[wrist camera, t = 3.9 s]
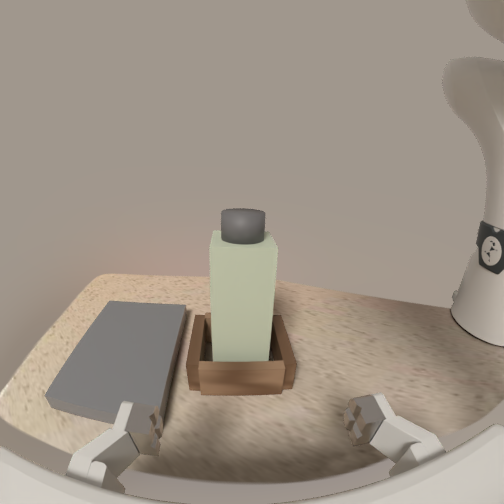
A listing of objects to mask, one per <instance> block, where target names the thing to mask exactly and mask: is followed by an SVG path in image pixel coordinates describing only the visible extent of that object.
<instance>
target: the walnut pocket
mask: <svg viewBox="0 0 504 504" xmlns="http://www.w3.org/2000/svg"><path fill="white" fill-rule="evenodd" d="M206 342H212V331H211V313H206V314H205V315H195V319H194V324H193V329H192V335H191V340H190V345H189V351H188V356H187V362H186V368H187V376H188V383H189V389H190V390H197V391H201V395H270V394H281V393H282V390H284V389H292V386H293V381H294V375H295V370H296V365H297V363H296V360H295V357H294V354H293V351H292V348H291V345H290V341H289V338H288V335H287V332H286V329H285V326H284V323H283V320H282V317H281V315H273V318H272V329H271V339H270V345H271V350H272V354H273V359H274V361H251V362H217V361H204V358H205V349H206Z"/></svg>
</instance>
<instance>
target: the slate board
mask: <svg viewBox="0 0 504 504" xmlns="http://www.w3.org/2000/svg"><path fill="white" fill-rule="evenodd" d="M186 317H187V312H186V305H177V304H154V303H136V302H121V301H109V302H108V303H107V305H106V306H105V307H104V309H103V310H102V311H101V313H100V314H99V315H98V317H97V318H96V319H95V321H94V322H93V323H92V325H91V326H90V328H89V329H88V330H87V332H86V333H85V335H84V336H83V337H82V339H81V340H80V342H79V343H78V345H77V346H76V347H75V349H74V350H73V352H72V353H71V355H70V356H69V358H68V359H67V361H66V362H65V364H64V365H63V367H62V368H61V370H60V371H59V373H58V375H57V376H56V378H55V379H54V381H53V382H52V384H51V386H50V387H49V389H48V391H47V392H46V394H45V397H46V399H47V400H48V402H49V404H50V406H51V407H52V408H55V409H58V410H61V411H64V412H68V413H71V414H75V415H78V416H82V417H86V418H90V419H94V420H98V421H102V422H107V423H112V424H114V423H115V420H116V417H117V414H118V411H119V409H120V406H121V403H122V402H123V401H128V402H134V403H140V404H147V405H154V406H158V408H159V416H161V417H162V421H164V415H165V410H166V405H167V400H168V395H169V391H170V386H171V381H172V377H173V372H174V368H175V363H176V359H177V354H178V350H179V346H180V341H181V337H182V333H183V329H184V325H185V321H186Z"/></svg>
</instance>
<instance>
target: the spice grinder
mask: <svg viewBox="0 0 504 504" xmlns="http://www.w3.org/2000/svg"><path fill="white" fill-rule="evenodd" d="M264 229H265V212H263V211H260V210H254V209H226V210H223V211H222V213H221V231H213V235H212V239H211V243H210V301H211V331H212V353H213V361H217V362H251V361H268V360H269V350H270V339H271V329H272V318H273V306H274V294H275V282H276V268H277V255H278V247H277V246H276V244H275V242H274V240H273V238H272V236H271V234H270V233H269V232H264Z"/></svg>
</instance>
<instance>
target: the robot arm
mask: <svg viewBox="0 0 504 504" xmlns="http://www.w3.org/2000/svg"><path fill="white" fill-rule="evenodd" d="M466 3H467V5H468V9H469V12H470V14H471V16H472V17H473V19H474V20H475V22H476V23H477V24H478V25H479V26H480V27H481V28H482V29H483V30H484V31H486V32H487V33H489V34H490V35H491V36H493V37H494V38H496V39H497V40H499V41H501V42H502V43H504V0H466ZM442 84H443V91H444V94H445V97H446V99H447V102H448V104H449V106H450V107H451V109H452V110H453V112H454V113H455V114H456V115H457V116H458V117H459V118H460V119H461V120H462V121H463V122H464V123H465V124H466V125H467V126H468V127H469V128H470V130H471V131H472V132H473V134H474V135H475V137H476V139H477V140H478V143H479V145H480V147H481V150H482V153H483V156H484V160H485V165H486V174H487V188H486V189H487V190H486V204H485V212H484V218H483V221H481V223H480V227H479V229H478V237H477V242H476V244H477V246H478V248H477V250H476V252H474V253H473V254H472V255H471V256H470V259H469V262H468V265H467V268H466V271H465V273H464V276H463V279H462V282H461V285H460V287H459V290H458V291H454V293H453V296H452V298H453V301H454V303H453V305H452V307H451V312H452V315H453V317H454V318H455V320H456V321H457V322H458V323H459V324H460V325H461V326H462V327H463V328H464V329H465V330H467V331H468V332H469V333H471V334H472V335H474V336H476V337H478V338H480V339H482V340H484V341H486V342H489V343H491V344H495V345H499V346H504V61H500V60H495V59H489V58H482V57H466V58H458V59H452V60H450V61H449V62H448V64H447V65H446V67H445V69H444V73H443V80H442ZM348 405H349V407H348V408H347V409H346V410H345V412H344V416H343V421H344V425H345V428H346V429H347V430H349V431H350V434H349V438H350V440H351V443H352V445H353V446H357V445H362V444H366V443H370V444H371V445H372V446H373V447H375V448H376V449H377V450H379V451H380V452H381V453H383V454H384V455H385V456H387V457H388V458H389V459H391V460H392V461H393V462H395V463H396V464H395V465H394V466H393V468H392V469H391V470H390V471H389V474H390V476H391V477H390V478H387V479H384V480H382V481H378V482H375V483H372V484H369V485H366V486H362V487H359V488H355V489H352V490H348V491H344V492H340V493H336V494H331V495H327V496H322V497H317V498H311V499H305V500H299V501H292V502H285V503H274V504H504V426H503V425H499V424H493V425H491V426H489V427H488V428H486V429H485V430H483V431H482V432H480V433H479V434H477V435H476V436H474V437H472V438H471V439H469V440H468V441H466V442H464V443H463V444H461V445H459V446H457V447H456V448H454V449H452V450H450V451H448V452H446V451H445V450H444V448H443V446H442V444H441V443H440V441H439V440H438V438H437V436H436V435H435V434H433V433H431V432H429V431H427V430H425V429H423V428H421V427H419V426H418V425H416V424H414V423H412V422H410V421H408V420H406V419H404V418H402V417H401V416H396V415H395V413H394V412H393V410H392V408H391V407H390V405H389V403H388V402H387V400H386V398H385V397H384V395H383V394H382V393H376V394H372V395H366V396H361V397H356V398H351V399H350V400H349V402H348ZM162 433H163V421H162V417H161V416H159V408H158V406H154V405H147V404H140V403H134V402H128V401H123V402H122V403H121V406H120V409H119V411H118V414H117V417H116V420H115V423H114V426H113V429H111V428H109V429H108V430H106V431H105V432H104V433H102V434H101V435H99V436H98V437H97V438H95V439H94V440H92V441H91V442H89V443H88V444H86V445H85V446H84V447H82V448H81V449H79V450H78V451H76V452H75V453H74V454H73V456H72V459H71V462H70V464H69V467H68V470H67V473H66V475H62V474H60V473H58V472H55V471H53V470H51V469H48V468H46V467H44V466H42V465H39V464H37V463H35V462H33V461H31V460H29V459H27V458H25V457H23V456H21V455H19V454H18V453H16V452H14V451H12V450H10V449H8V448H6V447H3V446H1V447H0V504H184V503H175V502H167V501H160V500H153V499H148V498H142V497H137V496H132V495H128V494H124V493H125V488H124V486H123V485H122V484H121V483H120V482H119V481H118V479H117V477H118V476H119V475H120V474H121V473H122V472H123V471H124V470H125V469H126V468H127V467H128V466H129V465H130V464H131V463H132V462H133V461H134V460H135V459H136V458H137V457H138V456H139V455H140V454H144V455H152V456H159V451H160V445H161V444H160V441H159V438H161V437H162Z"/></svg>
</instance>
